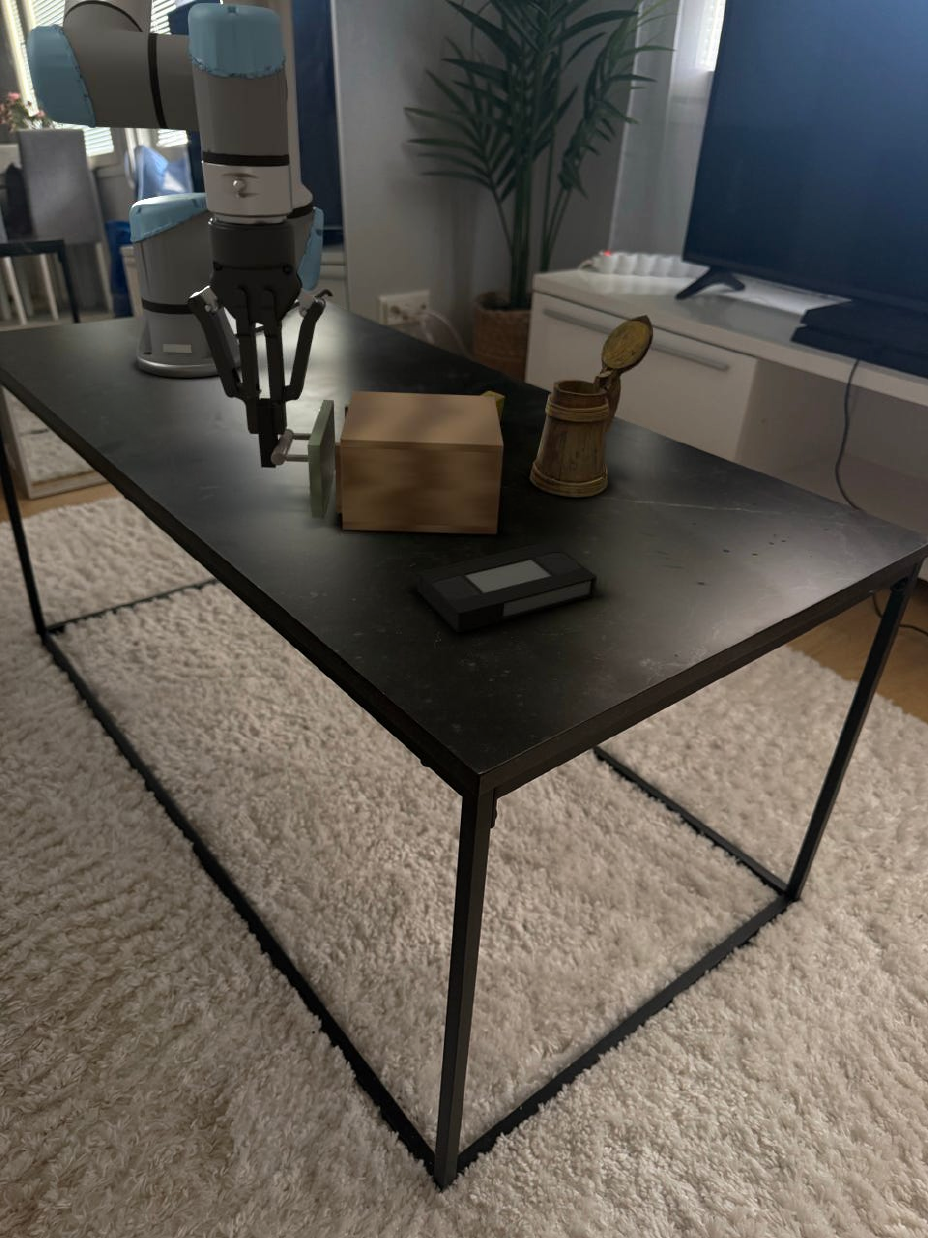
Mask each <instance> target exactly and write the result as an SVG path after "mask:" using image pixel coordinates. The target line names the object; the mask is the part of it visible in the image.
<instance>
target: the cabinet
mask: <svg viewBox="0 0 928 1238" xmlns="http://www.w3.org/2000/svg"><path fill="white" fill-rule="evenodd" d="M348 405H349V407H348V411H347V415H346V419H345V418H344V423H343V427H342V431H341V435H340V439H339V442H340V447H341V448H340V450H341V481H342V512H343V513H342V530H346V531H347V530H348V531H376V532H377V531H378V532H380V531H381V532H408V533H409V532H412V533H442V534H443V533H445V534H474V535H497V533H498V520H499V507H500V495H501V494H500V493H501V484H502V471H503V470H502V468H503V456H504V447H505V446H504V441H503V435H502V430H501V425H500V422H499V419H498V414H497V408H496V403H495V398H494V397H492V396H480V395H465V394H442V393H418V392H417V393H415V392H414V393H413V392H389V391H388V392H386V391H362V390H352V392H351V396H350V400H349V404H348Z"/></svg>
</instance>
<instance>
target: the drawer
mask: <svg viewBox="0 0 928 1238" xmlns="http://www.w3.org/2000/svg"><path fill="white" fill-rule="evenodd" d="M348 407H349V404H345V405H344V420H345V419H346V415H347V411H348ZM335 421H336V420H335V400H334V399H322V402H321V404H320V407H319V410H318V413H317V416H316V419H315V422H314V425H313V428H312V431H311V433H309V432H307V433H306V432H305V433H303V432H294V431H293V430H292V429H291V428H286V431H285V433H284V435H279V436H278V442H277V444H276V447H275V449H274V451H273V454H272V456H271V461H272V463H273V464H275V465H276V466H278V467H279V466H283V465H284V464H285V462H288V463H289V462H290V463H308V480H309V481H308V482H309V498H310V499H309V500H310V517H311V518H312V519H324V517H325V513H326V508H327V505H328V500H329V497H330V492H331V488H332V484H333V482H334V481H333V480H334V476H335V500H336V501H335V502H336V513H337V514H343V512H342V481H341V450H340V448H341V447H340V441H336V425H335ZM294 441H308V443H307V454H295V453H293V454H292V453H291V454H290V453H289V452H290V449H291V446H292V444H293V442H294Z"/></svg>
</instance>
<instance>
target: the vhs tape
mask: <svg viewBox="0 0 928 1238" xmlns="http://www.w3.org/2000/svg"><path fill="white" fill-rule="evenodd" d="M597 579H598V576H597V575H596V574H594V573H593V572H592V571H590V569H588V568H587V567H585V566H584V565H583V564H581V563H580V562H579V561H578V560H576V559H575V558H574V557H573V556H571V555H569V553H567V552H565V551H564V550H562V548H560V547H559V546H557V545H556V544H555V543H554V542H552V541H546V542H542V543H537V544H534V545H529V546H525V547H521V548H516V549H511V550H507V551H503V552H498V553H495V554H490V555H486V556H481V557H477V558H473V559H468V560H463V561H460V562H456V563H455V562H454V563H451V564H448V565H443V566H442V565H441V566H439V567H434V568H430V569H429V568H428V569H426V570H421V571H418V572H417V588H416V589H417V592H418V593H419V594H420V595H421V596H422V597H423V598H424V599H425V600H426V601H427V602H428V604H430V606H431V607H432V608H433V609H434V610H435V611H436V612H437V613H438V614H439V615H440V616H441V617H442V618H443V619H444V620H445V621H446V623H448V624H449V626H451V627H452V628H453V629H454V630H455V631H456V632H457V633H463V632H466V631H468V630H472V629H477V628H480V627H484V626H487V625H491V624H495V623H498V622H499V623H500V622H503V621H507V620H510V619H513V618H517V617H521V616H524V615H527V614H531V613H534V612H540V611H542V610H546V609H550V608H553V607H557V606H561V605H564V604H568V603H571V602H575V601H579V600H582V599H586V598H590V597H594V596H595V593H596V586H597Z"/></svg>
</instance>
